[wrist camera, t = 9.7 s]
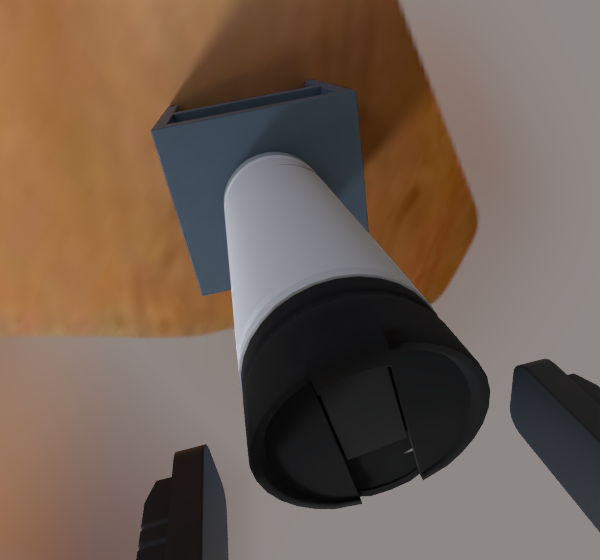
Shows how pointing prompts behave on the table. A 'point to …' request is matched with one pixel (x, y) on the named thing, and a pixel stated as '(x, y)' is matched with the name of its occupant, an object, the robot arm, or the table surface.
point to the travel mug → (336, 347)
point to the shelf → (246, 144)
